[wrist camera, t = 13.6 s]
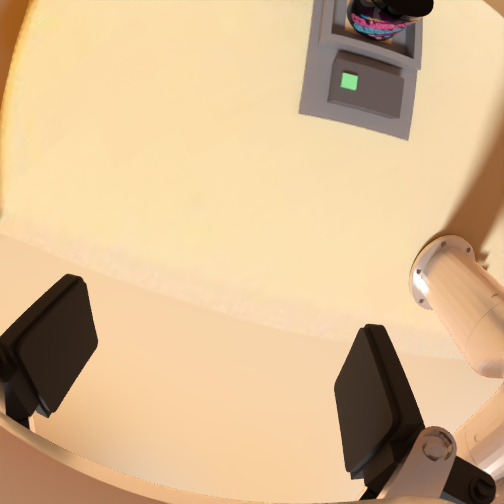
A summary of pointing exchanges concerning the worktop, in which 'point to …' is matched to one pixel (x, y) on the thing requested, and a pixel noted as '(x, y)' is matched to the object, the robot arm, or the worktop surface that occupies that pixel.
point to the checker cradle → (360, 73)
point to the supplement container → (385, 16)
